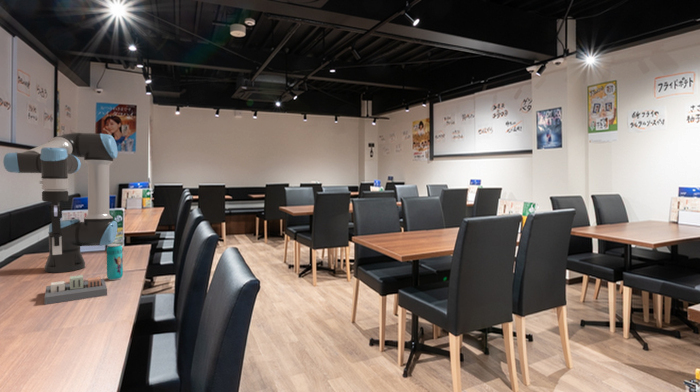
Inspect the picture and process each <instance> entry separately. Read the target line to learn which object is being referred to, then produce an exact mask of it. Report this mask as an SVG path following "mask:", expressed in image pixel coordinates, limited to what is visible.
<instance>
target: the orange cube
mask: <svg viewBox="0 0 700 392" xmlns="http://www.w3.org/2000/svg"><path fill="white" fill-rule="evenodd" d="M101 279H102V278H101V276H96V277H95V276H94V277H87V281H88V288H89V287H96V286H101Z"/></svg>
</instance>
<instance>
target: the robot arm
mask: <svg viewBox="0 0 700 392" xmlns="http://www.w3.org/2000/svg"><path fill="white" fill-rule="evenodd" d="M118 153H119V151H118V145H117V142H116V139H115V138H114V137H113V135H111V134H109V133H108V134H107V133H92V132H91V133H89V132H70V133H66V134H61V135H57V136H53V137H52V138H50V139H49V140H48V141H47V142H46V143H44V144H41V145H39V146H36V147H33V148H31V149H29V150H26V151H24V152H17V151H15V152H7V153H6V154H5V155H4V157H3V162H2V163H3V167H4V169H5V170H6V171H7V172H8V173H15V174H41V180H39V183H38V184H41V189H42V192H41V201H43V202H50V203H51V205H49V206H48V212H49V218H50V219H51V223H50V224H49V225H48V250H49V252H48V253H49V254H48V256H47V258H46V261H45V265H44V272H46V273H64V272H73V271H78V270H82V269H83V268H86V262H85V258H84V257H83V254H82V253H81V247H95V246H99V247H102V246H107V245H109V244H114V242H115V240H116V237H117V234H118V222H117V221H116V220H114V217H113V216H112V215H111V214H110V166H111V165H112V164H113V163H114V160H115V159H117V158H118ZM79 158H83V160H84V162H85V163H86V164H87V215H86V216H85V217H84V218H83V221H81V219H80V218H73V219H72V218H70V219H64V220H61V219H62V218H63V207H64V206H63V205H60V204H61V203H60V202H68V201H69V191H68V190H69V178H68V177H69V175H71V174H75V173H77V172H79V170H80V169H81V166H82V164H81V159H79Z"/></svg>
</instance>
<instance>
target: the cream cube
mask: <svg viewBox="0 0 700 392" xmlns="http://www.w3.org/2000/svg"><path fill="white" fill-rule="evenodd" d="M65 284H66V281H65V280H61V281H53V282H50V286H51V293H52V292H59V291H65Z"/></svg>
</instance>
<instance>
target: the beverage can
mask: <svg viewBox="0 0 700 392" xmlns="http://www.w3.org/2000/svg"><path fill="white" fill-rule="evenodd" d="M106 246H107V247H106V276H107V279H108V280H109V281H112V282H113V281H119V280H122V277H123V275H124V274H123V271H124V267H123V265H124V264H123V261H124V260H123V246H122V243H112V244H109V245H106Z"/></svg>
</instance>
